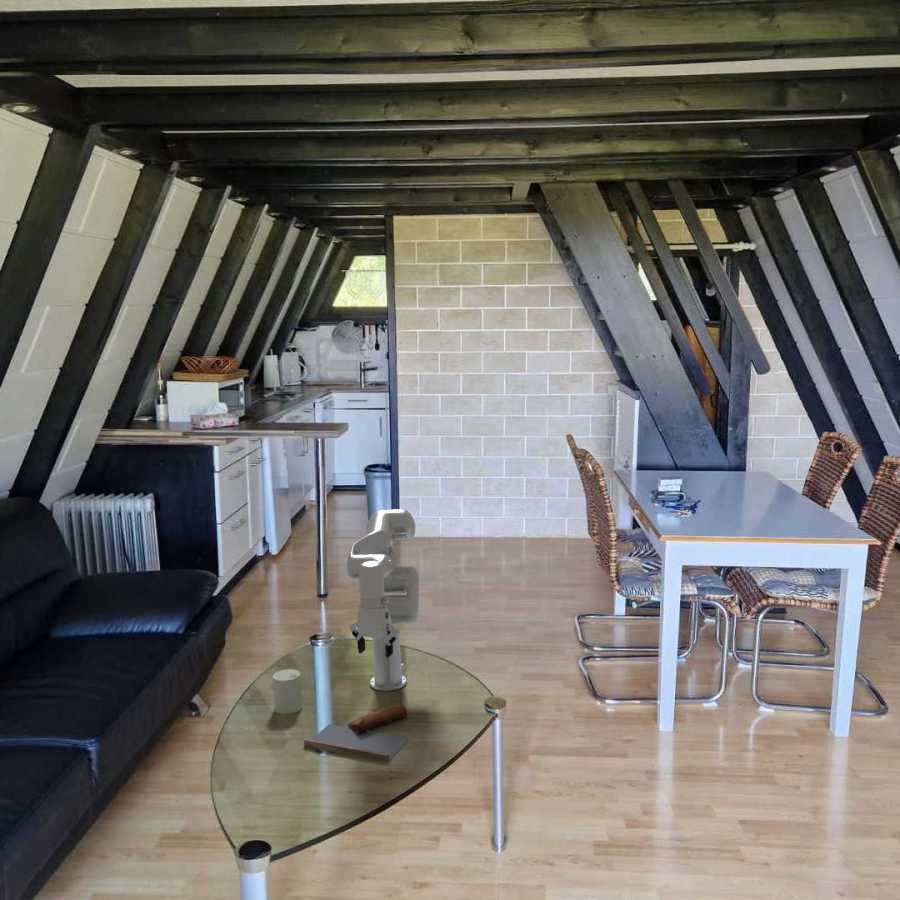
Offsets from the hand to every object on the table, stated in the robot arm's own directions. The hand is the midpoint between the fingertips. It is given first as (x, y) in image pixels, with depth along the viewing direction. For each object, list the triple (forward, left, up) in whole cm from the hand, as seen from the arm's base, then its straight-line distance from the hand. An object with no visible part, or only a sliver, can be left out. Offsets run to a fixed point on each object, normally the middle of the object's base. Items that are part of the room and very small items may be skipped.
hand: (375, 653), depth 258 cm
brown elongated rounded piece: (+1, 0, -22) cm, 22 cm away
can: (+1, -33, -23) cm, 40 cm away
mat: (+14, 0, -22) cm, 26 cm away
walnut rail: (+21, 0, -22) cm, 31 cm away
